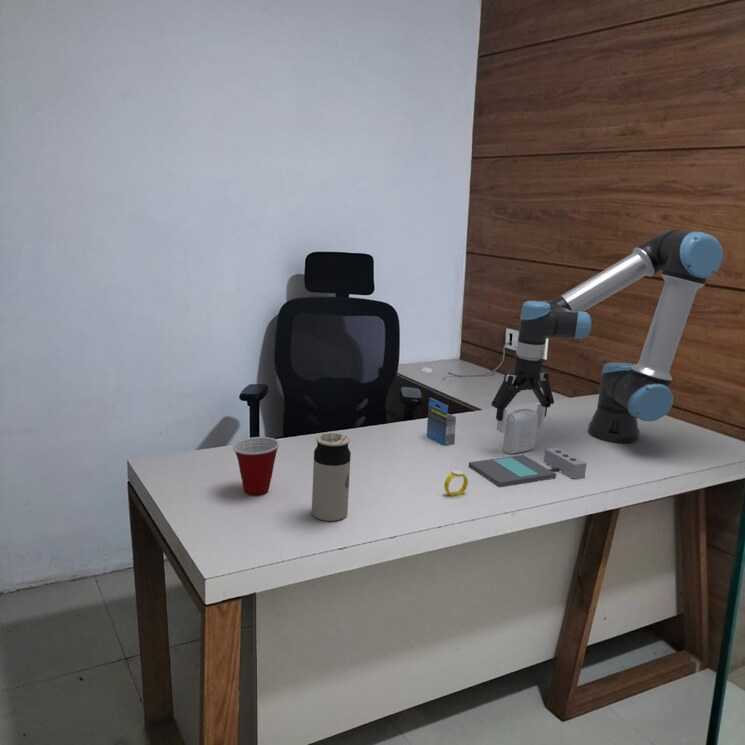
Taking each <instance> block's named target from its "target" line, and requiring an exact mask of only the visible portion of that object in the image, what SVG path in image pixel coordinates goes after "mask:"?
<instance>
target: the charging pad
mask: <svg viewBox="0 0 745 745" xmlns="http://www.w3.org/2000/svg"><path fill="white" fill-rule="evenodd" d="M470 467H471V468H470ZM468 468H470V469H471V470H473V469H474V470H473V471H475V472H476V471H477V472H476V473H478V474H479V473H480V474H479V475H480V476H482V475H483V476H482V477H483V478H485V477H486V478H485V479H487V480H488V479H489V480H488V481H490V482H491V483H492V482H493V483H492V484H494V485H495V484H496V485H495V486H496V487H499V488H502V487H507V486H508V487H509V486H514V485H520V484H521V483H522V484H528V483H533V481H534V482H539V481H538V480H541V481H545V480H544V479H547V480H551V479H550V478H553V479H556V478H557V473H556V472H555V471H553V472H552V471H551V470H549V469H550V468H547V467H545V466H543V465H542V464H540V463H538V462H537V461H535V460H534V459H531V458H529V457H528V456H526V455H524V454H520V455H513V456H505V457H499V458H498V457H497V458H490V459H483V460H482V459H481V460H477V461H476V460H475V461H469V462H468ZM555 477H556V478H555ZM527 482H528V483H527ZM522 484H521V485H522Z"/></svg>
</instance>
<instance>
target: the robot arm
mask: <svg viewBox="0 0 745 745" xmlns="http://www.w3.org/2000/svg"><path fill="white" fill-rule="evenodd" d="M723 258H724V252H723V247H722V245H721V243H720V242H719V240H718V239H717V238H716V237H715V236H713V235H711V234H709V233H706V232H703V231H698V230H697V231H692V230H683V229H671V230H667V231H664V232H662V233H661V232H660V233H659V234H657V235H656V236H653V237H652V238H650V239H647V240H646V241H645V242H643V243H641V244H639V245H638V246H636V247H634V248H633V249H632V253H631V254H629V255H627V256H625V257H624V258H622V259H621V260H619V261H617V262H616V263H614V264H612V265H610V266H609V267H607V268H605V269H604V270H603V271H602V270H601V272H599V273H597V274H595V275H594V276H591V277H590V278H589V279H586V280H585V281H583V282H581V283H579V284H578V285H577V286H575V287H574V288H572V289H569V290H568V291H566V292H564V293H563V294H561V295H560V296H558V297H556V298H554V299H552V300H543V301H537V300H527V301H525V302H523V304H522V307H521V312H520V316H519V329H518V336H517V337H518V338H517V345H516V352H515V354H516V355H517V356H515V359H514V365H513V366H514V367H513V369H514V374H509V373H505V374H504V377H503V381H502V383H501V385H500V387H499V388H498V391H497V393H496V395H495V396H494V398H493V400H492V402H491V407H493V408H495V409H496V413H495V414H496V415H495V419H496V420H497V423H496V429H495V430H496V431H497V432H500V433H502V434H505V425H506V418H507V415H508V410H507V409H506V408H507V407H508V405H510V404H511V402H512V401H513V399H515V397H516V396H517V395H518V393H520V392H522V391H526V390H528V391H532V392H533V393H534V395H535V397H536V398H537V400H538V402H539V403H540V404H537V408H536V412H537V414H538V423H537V429H540V430H542V429H544V423H545V422H544V421H545V417H546V416H547V413H548V412H547V411H548V408H550V407H551V405H553V404H554V403H555V400H554V396H553V392H552V388H551V385H550V382H549V378H550V375H549V373H546V372H544V371H542V370H543V362H544V360H543V358H544V357H545V356H544V355H545V346H546V341H547V338H560V339H573V340H576V339H577V340H578V339H585V338H587V337H588V336H589V334H590V333H591V331H592V330H591V329H592V319H591V315H590V314H589V313H588V312H585V311H587V310H588V309H591V308H592V307H594V306H595V305H598V304H599V303H601V302H603V301H604V300H606V299H608V298H610V297H612V296H613V295H615V294H616V293H618V292H620V291H621V290H623V289H625V288H627V287H629V286H630V285H632V284H634V283H635V282H637V281H639V280H641V279H642V278H644V277H653V276H654V275H656V274H657V273H660V272H661V277H662V279H663V281H664V284H663V287H662V291H661V294H660V297H659V299H658V302H657V305H656V309H655V311H654V315H653V317H652V321H651V324H650V326H649V330H648V333H647V335H646V339H645V342H644V344H643V348H642V351H641V354H640V357H639V360H638V362H637V363H630V362H628V363H627V362H607V363H605V364H604V365H603V367H602V371H601V377H600V378H601V379H600V383H599V384H600V385H599V392H598V400H597V405H596V406H597V407H596V410H595V412H594V414H593V416H592V417H591V418H592V419H591V421H590V422H589V423H588V429H587V433H589V435H591V436H593V437H595V438H597V439H600V440H603V441H607V442H610V443H611V442H612V443H619V444H620V443H621V444H630V443H635V442H637V441H638V440H639V437H640V429H639V426H638V425H639V424H638V419H639V420H641V421H643V422H655V421H658V420H660V419H661V418H663V417H665V416H666V415H667V414H668V413H669V412H670V410H672V406H673V405H674V404H673V403H674V395H673V393H672V390H670V387H671V384H672V381H673V377H672V375H671V373H670V370H671V367H672V364H673V361H674V359H675V355H676V352H677V349H678V346H679V343H680V341H681V339H682V334H683V332H684V329H685V326H686V323H687V320H688V317H689V313H690V311H691V308H692V306H693V303H694V300H695V297H696V294H697V291H698V290H699V289H701V288H703V287H705V286H706V283H707V280H708V278H709V277H711V276H713V274H715V273H716V272H718V270H719V269H720V267H721V266H722V262H723ZM538 382H540V384H539V383H538ZM540 386H541V387H540Z"/></svg>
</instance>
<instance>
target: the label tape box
mask: <svg viewBox="0 0 745 745" xmlns="http://www.w3.org/2000/svg"><path fill="white" fill-rule="evenodd" d="M428 400H429V401H428V406H427V409H428V411H427V424H426V437H427V438H429V439H431V440H433V441H435V442H437V443H439V444H441V445H444V446H450V445H453V444H455V440H456V424H457V422H456V421H457V416H455V415H452V414H450V413H448V410H449V405H447V404H445V403H443V402H440V401H439V400H437V399H435V398H432V397H429V399H428ZM436 405H438V406H439V407H438V406H436Z"/></svg>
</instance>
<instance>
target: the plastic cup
mask: <svg viewBox="0 0 745 745" xmlns="http://www.w3.org/2000/svg"><path fill="white" fill-rule="evenodd" d="M279 447H280V442H279V441H278V440H277V439H276V438H272V437H267V436H254V437H248V438H243V439H241V440H237V441H236V442H235V443H234V444H233V445H232V450H233V451H234V453H235V455H236V458H237V462H238V466H239V468H238V469H239V473H240V478H241V483H242V488H243V493H245V494H246V495H248V496H253V497H255V496H258V497H259V496H264V495H266V494H267V493H268V492H269V490H270V486H271V481H272V479H273V478H272V477H273V471H274V466H275V462H276V460H275V459H276V457H277V452H278V448H279Z"/></svg>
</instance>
